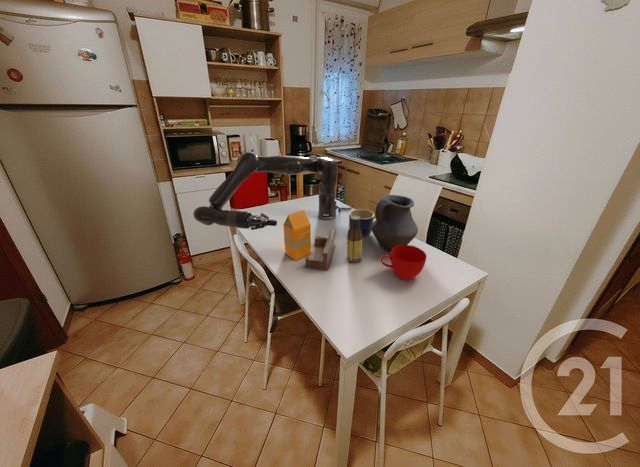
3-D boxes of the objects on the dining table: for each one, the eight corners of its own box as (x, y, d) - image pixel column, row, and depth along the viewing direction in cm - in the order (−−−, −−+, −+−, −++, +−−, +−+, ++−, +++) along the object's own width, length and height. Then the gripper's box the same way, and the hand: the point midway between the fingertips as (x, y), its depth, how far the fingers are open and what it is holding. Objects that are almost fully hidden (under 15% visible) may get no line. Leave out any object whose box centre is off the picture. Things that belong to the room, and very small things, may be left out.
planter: (363, 226, 143) (365, 207, 138) (377, 236, 133) (379, 216, 128) (343, 230, 138) (344, 211, 133) (356, 241, 129) (358, 220, 123)
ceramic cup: (375, 264, 111) (378, 244, 106) (416, 265, 110) (420, 245, 106) (381, 284, 99) (384, 262, 95) (426, 285, 99) (431, 263, 94)
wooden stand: (305, 267, 109) (305, 251, 105) (315, 243, 126) (315, 229, 122) (327, 270, 107) (327, 253, 103) (334, 245, 124) (334, 230, 121)
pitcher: (423, 250, 121) (434, 199, 110) (389, 264, 111) (397, 209, 99) (391, 232, 137) (398, 186, 125) (358, 243, 127) (362, 194, 115)
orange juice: (311, 253, 118) (310, 212, 109) (295, 260, 113) (293, 218, 104) (300, 246, 123) (298, 207, 114) (284, 253, 118) (282, 212, 109)
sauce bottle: (362, 256, 116) (366, 215, 107) (359, 264, 111) (363, 221, 101) (347, 253, 118) (350, 213, 108) (344, 261, 112) (347, 219, 103)
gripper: (230, 217, 108) (270, 221, 106) (244, 206, 120) (280, 209, 117) (233, 233, 112) (271, 237, 109) (246, 221, 123) (281, 224, 121)
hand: (276, 223), depth 113 cm, fingers closed
